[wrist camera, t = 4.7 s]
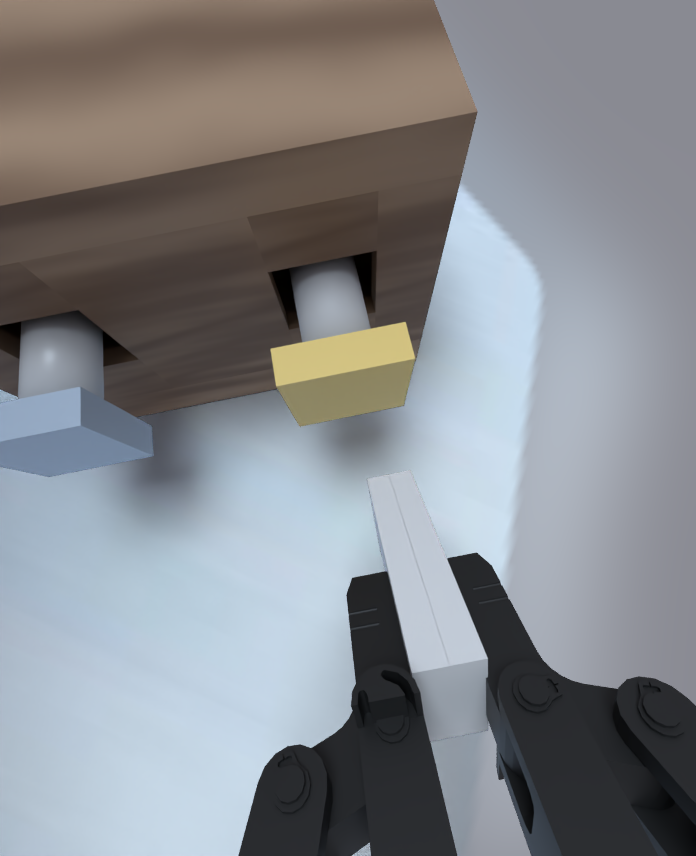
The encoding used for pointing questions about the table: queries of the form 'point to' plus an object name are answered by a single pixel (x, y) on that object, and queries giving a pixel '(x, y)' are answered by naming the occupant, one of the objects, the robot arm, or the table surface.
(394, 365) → the ochre button
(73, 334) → the slate-blue button
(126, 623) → the table surface
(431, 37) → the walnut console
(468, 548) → the table surface
